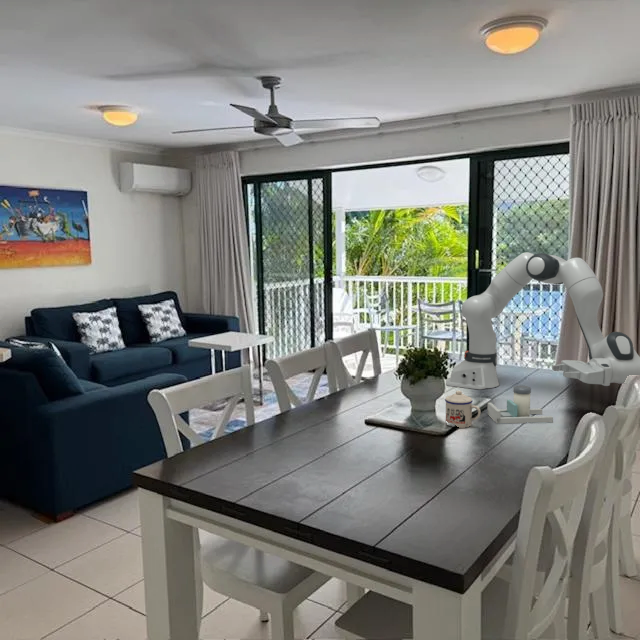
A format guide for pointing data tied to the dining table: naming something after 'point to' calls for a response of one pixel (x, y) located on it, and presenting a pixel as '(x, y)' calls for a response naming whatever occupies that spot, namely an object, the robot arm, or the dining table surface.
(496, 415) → the lane
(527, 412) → the jar
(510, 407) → the pusher
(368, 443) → the dining table surface
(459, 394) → the teacup with lid
